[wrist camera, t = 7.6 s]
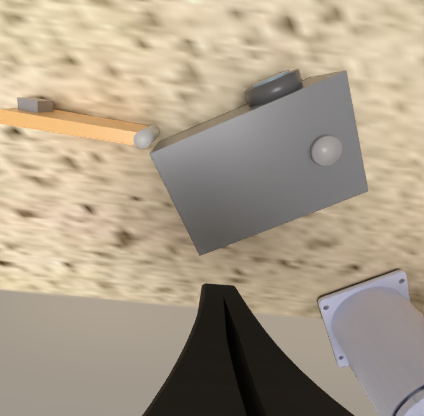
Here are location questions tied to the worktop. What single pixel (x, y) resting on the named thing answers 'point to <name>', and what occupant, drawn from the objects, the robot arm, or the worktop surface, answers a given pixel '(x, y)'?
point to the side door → (76, 123)
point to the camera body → (265, 159)
